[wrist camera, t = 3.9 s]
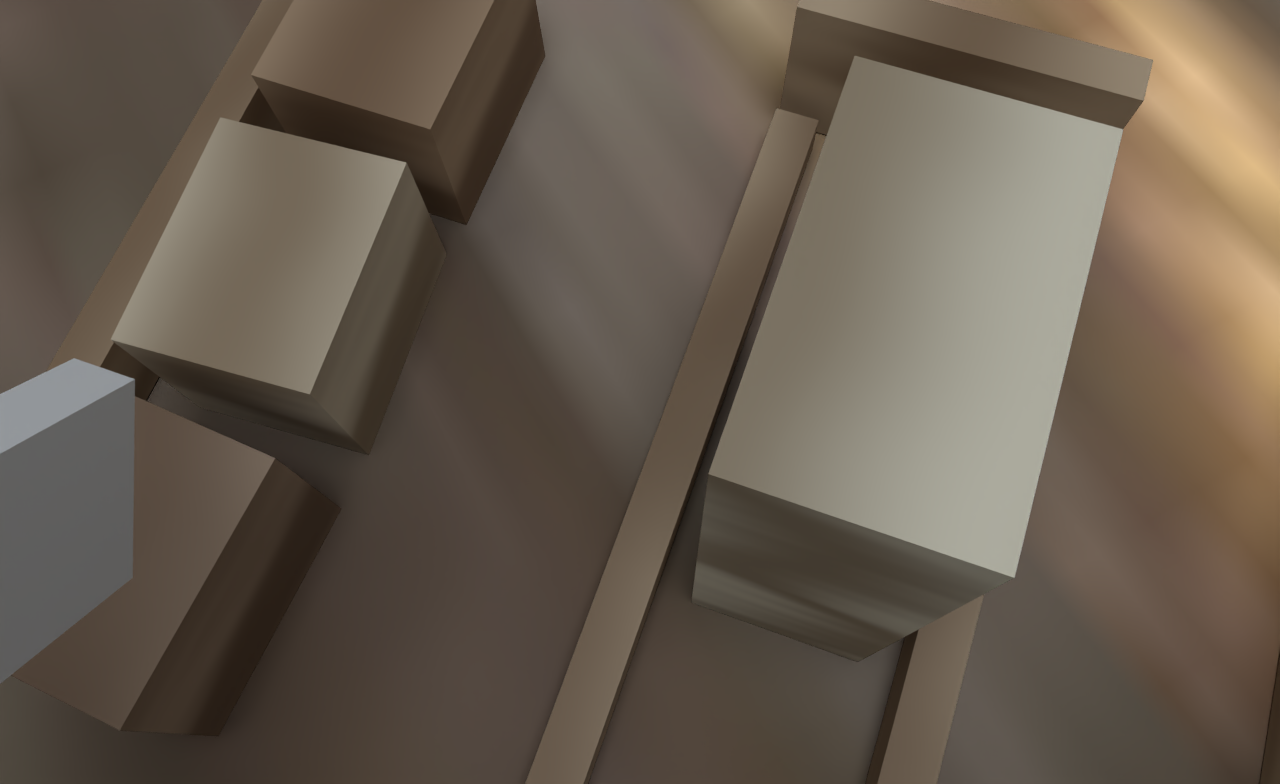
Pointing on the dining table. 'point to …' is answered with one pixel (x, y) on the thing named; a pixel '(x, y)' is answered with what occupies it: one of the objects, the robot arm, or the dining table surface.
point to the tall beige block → (905, 364)
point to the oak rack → (713, 332)
